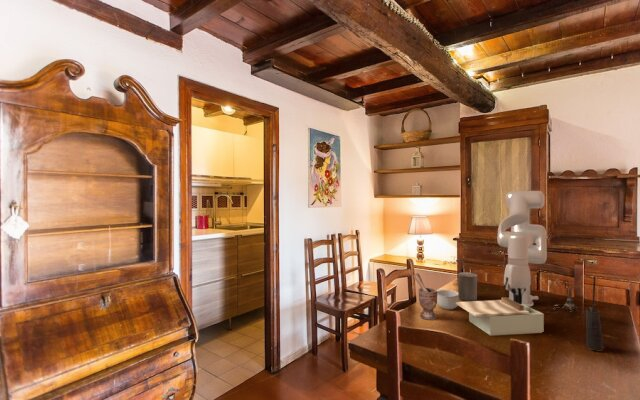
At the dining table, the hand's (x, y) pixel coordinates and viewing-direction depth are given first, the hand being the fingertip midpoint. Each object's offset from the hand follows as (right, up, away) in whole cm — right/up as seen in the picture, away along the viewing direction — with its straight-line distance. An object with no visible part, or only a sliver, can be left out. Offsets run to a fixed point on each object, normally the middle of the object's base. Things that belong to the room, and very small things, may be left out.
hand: (517, 303), depth 149 cm
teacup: (-22, -10, +26) cm, 35 cm away
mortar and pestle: (-37, -10, +12) cm, 41 cm away
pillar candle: (-5, -10, +39) cm, 40 cm away
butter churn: (+16, -11, -21) cm, 29 cm away
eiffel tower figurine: (+39, -10, +22) cm, 46 cm away
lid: (-12, -2, -1) cm, 13 cm away
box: (-6, -10, 0) cm, 12 cm away
